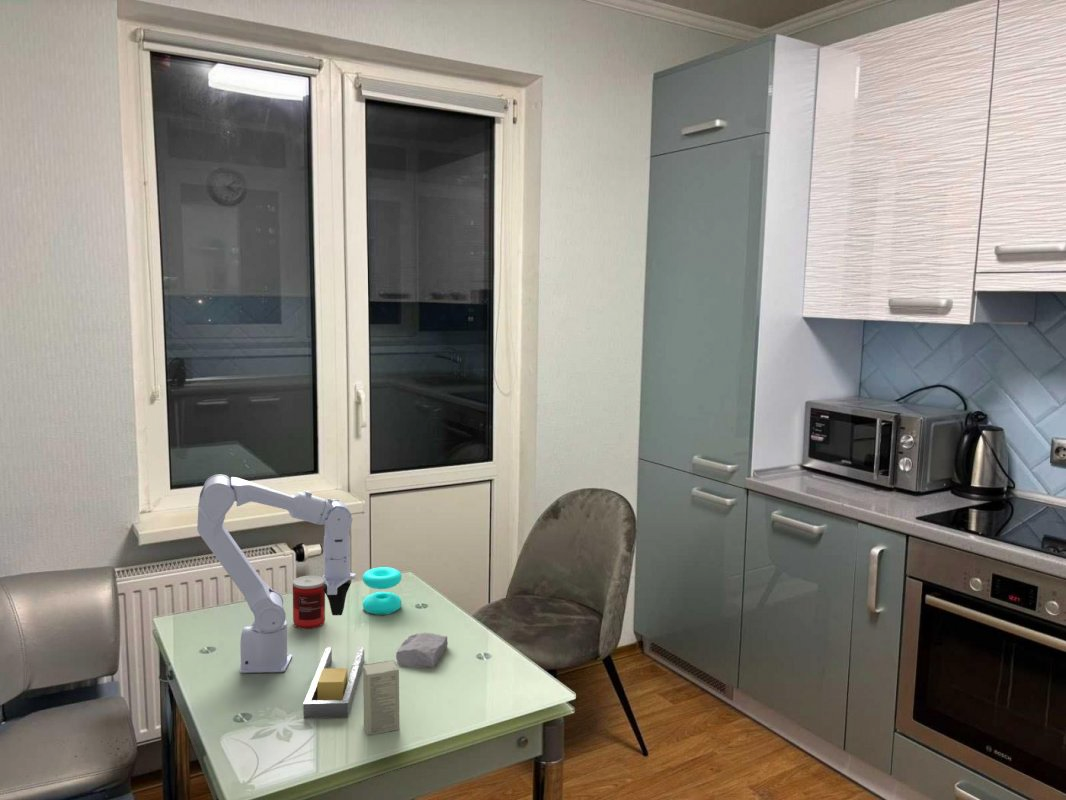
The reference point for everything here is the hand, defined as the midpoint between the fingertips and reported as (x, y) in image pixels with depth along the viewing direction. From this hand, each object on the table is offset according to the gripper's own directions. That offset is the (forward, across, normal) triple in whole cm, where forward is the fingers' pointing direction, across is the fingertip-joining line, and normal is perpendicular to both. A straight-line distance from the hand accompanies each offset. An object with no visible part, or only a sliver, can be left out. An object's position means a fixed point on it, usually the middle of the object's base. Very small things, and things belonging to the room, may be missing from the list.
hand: (337, 614), depth 180 cm
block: (+10, -19, -2) cm, 21 cm away
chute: (+10, -14, -2) cm, 17 cm away
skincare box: (+10, -31, -13) cm, 35 cm away
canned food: (+10, +19, +10) cm, 24 cm away
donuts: (+10, +28, -7) cm, 31 cm away
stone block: (+10, 0, -19) cm, 21 cm away
